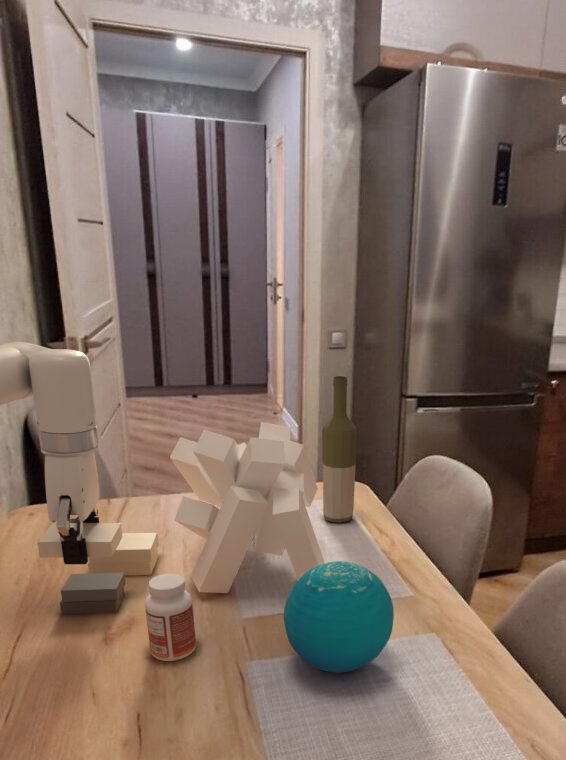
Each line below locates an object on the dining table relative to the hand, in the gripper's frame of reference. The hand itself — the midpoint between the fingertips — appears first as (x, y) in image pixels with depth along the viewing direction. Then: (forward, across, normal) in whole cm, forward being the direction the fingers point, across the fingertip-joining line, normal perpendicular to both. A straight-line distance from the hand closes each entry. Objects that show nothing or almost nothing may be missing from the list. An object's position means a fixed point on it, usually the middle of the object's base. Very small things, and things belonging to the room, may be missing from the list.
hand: (83, 551), depth 101 cm
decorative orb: (+9, +19, +38) cm, 43 cm away
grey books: (+9, 0, +1) cm, 9 cm away
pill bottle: (+9, +14, +15) cm, 22 cm away
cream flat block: (-1, 0, 0) cm, 1 cm away
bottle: (+9, -33, +42) cm, 54 cm away
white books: (+9, -13, +3) cm, 16 cm away
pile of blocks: (+9, -13, +25) cm, 29 cm away
